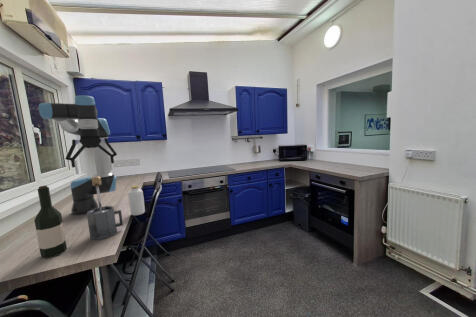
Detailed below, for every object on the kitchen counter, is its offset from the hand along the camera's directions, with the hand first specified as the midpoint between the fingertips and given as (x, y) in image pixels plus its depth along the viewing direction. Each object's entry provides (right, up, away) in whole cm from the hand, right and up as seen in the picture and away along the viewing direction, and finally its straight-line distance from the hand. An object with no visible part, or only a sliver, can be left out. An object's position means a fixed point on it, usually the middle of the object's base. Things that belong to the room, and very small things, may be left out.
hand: (95, 171), depth 96 cm
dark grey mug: (+3, -32, +4) cm, 33 cm away
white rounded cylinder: (+6, -29, +30) cm, 42 cm away
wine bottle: (-10, -35, -11) cm, 38 cm away
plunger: (+1, -21, +2) cm, 22 cm away
